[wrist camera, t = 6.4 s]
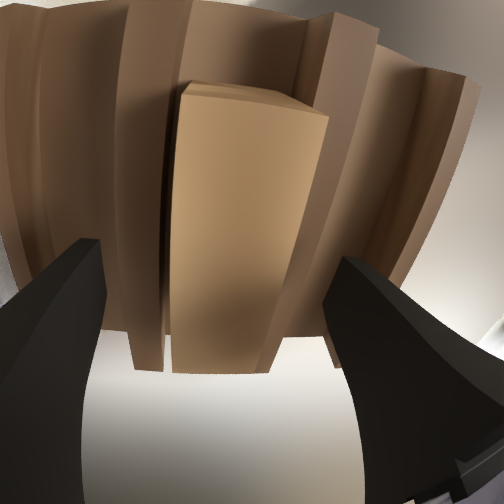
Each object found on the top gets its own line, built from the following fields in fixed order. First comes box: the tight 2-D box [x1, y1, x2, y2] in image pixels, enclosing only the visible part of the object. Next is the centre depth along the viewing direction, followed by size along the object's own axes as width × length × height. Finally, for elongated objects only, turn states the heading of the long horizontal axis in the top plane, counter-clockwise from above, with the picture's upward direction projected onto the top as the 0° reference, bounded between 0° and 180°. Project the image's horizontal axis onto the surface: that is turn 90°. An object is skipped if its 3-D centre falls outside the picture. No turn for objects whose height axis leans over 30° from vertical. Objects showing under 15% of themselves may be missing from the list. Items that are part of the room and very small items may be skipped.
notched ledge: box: [0, 0, 481, 373], centre depth 11 cm, size 17×16×3 cm
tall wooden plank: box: [170, 80, 329, 374], centre depth 10 cm, size 3×9×5 cm, turn 170°
